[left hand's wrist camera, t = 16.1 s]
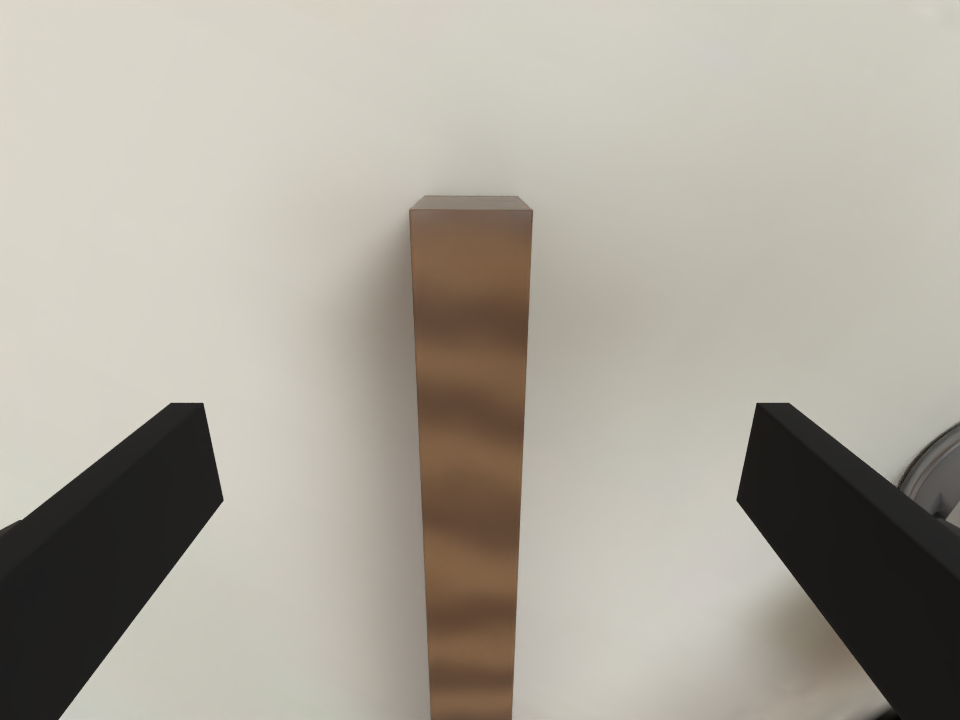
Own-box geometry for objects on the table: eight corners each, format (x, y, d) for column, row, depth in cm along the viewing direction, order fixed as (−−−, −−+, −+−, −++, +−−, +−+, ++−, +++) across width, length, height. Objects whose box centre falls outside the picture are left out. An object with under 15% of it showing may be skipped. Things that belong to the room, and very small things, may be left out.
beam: (423, 195, 31) (408, 209, 24) (518, 196, 31) (533, 209, 24) (443, 797, 52) (438, 903, 45) (499, 796, 52) (504, 902, 45)
